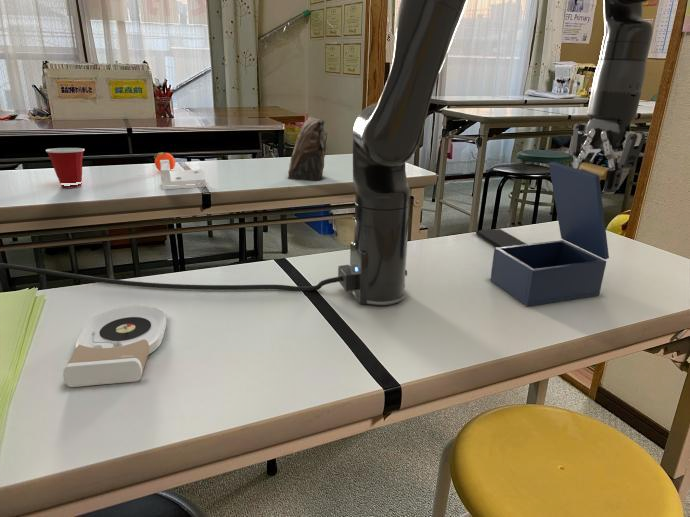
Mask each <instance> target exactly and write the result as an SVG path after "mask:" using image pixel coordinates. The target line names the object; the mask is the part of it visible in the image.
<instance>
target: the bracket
mask: <svg viewBox="0 0 690 517" xmlns="http://www.w3.org/2000/svg"><path fill="white" fill-rule="evenodd" d="M160 164H161V169H160V170H161V171H160V170H159V171H160V176H161V184H162V190H177V189H192V188H206V187H207V185H206V176H205V170H204V169H187V170H171V171H170V166H169V160H160ZM199 183H202V184H199ZM186 184H198V185H186ZM165 185H180V186H165Z"/></svg>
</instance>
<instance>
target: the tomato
mask: <svg viewBox="0 0 690 517" xmlns="http://www.w3.org/2000/svg"><path fill="white" fill-rule="evenodd" d="M153 159H154V165H155V167H156V169H157V170H158V171H160V169H161V164H160V160H169V166H170V171H172V170H171V169H173V170H174V169H175V166H176V160H175V158H174V156H173V155H172V154H170V152H158V153H156V154H154V157H153Z"/></svg>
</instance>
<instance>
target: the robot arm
mask: <svg viewBox="0 0 690 517" xmlns="http://www.w3.org/2000/svg"><path fill="white" fill-rule="evenodd" d="M653 1H654V0H603V23H604V36H603V39H602V45H601V50H600V55H599V60H598V63H597V66H596V69H595V73H594V76H593V80H592V86H591V92H590V97H589V102H588V106H587V112H586V116H588V117H589V120H588V122H586V123H585V122H584V123H575V124H574V125H573V134H572V144H571V151H570V152H571V154H570V155H571V157H572V158H573V157H574V158H576V159H577V162H578V165H577V169H579V168H580V165H581V164H582V163H584V162H587V163H591V164H593V161H594V159H595V157H596V156H597V154H598V153H600V152H604V157H605V158H606V159H607V164H608V168H609V169H610V170H608V171H607V176H606V180H604V185H603V192H605V193H615V192H616V191H617V190H618V189H619V187H620V183H621V179H622V175H623V172H624V171H625V170H633V169H635V168H636V165H637V162H638V159H639V158H640V157H639V156H640V154H641V151H642V148H643V146H644V142H645V141H646V134H645V133H644V132H643V133H642V132H641V133H640V132H634V131H632V127H631V123H632V121H633V120H634V119H636V117H637V112H638V109H639V104H640V99H641V96H642V91H643V88H644V83H645V79H646V72H647V63H648V58H649V55H650V54H649V53H650V49H651V45H652V40H653V35H654V26H653V24H652V23H651V22H650V21H648V20H645V19H644V18H643V4H644V3H646V2H647V3H648V2H653ZM467 3H468V0H400V3H399V8H398V12H397V16H396V17H397V18H396V24H395V31H394V48H393V55H392V56H393V57H392V64H391V67H390V71H389V74H388V77H387V80H386V82H385V85H384V88H383V91H382V93H381V95H380V97H379V100H378V102H376V103H372V104H370V105H368V106H366V107H365V108H364V109H363V110H361V111H360V113H359V114H358V115H357V117H356V119H355V121H354V125H353V130H352V131H353V132H352V183H353V187H354V238H353V240H354V241H351V242H350V244H349V245H350V247H349V250H350V252H349V264H343V265H338V266H337V268H338V269H337V275H338V276H334V277H330V278H326V279H322V280H321V281H319V282H318V283H317V284H315V285H310V286H297V285H287V284H187V283H185V284H184V283H183V284H182V283H162V282H147V281H146V282H145V281H136V280H135V281H133V280H124V279H115V278H106V277H99V276H91V275H84V274H78V273H77V274H76V273H70V272H65V271H64V272H63V271H57V270H50V269H44V268H37V267H33V266H32V267H30V266H25V265H18V264H11V263H3V262H0V268H2V269H9V270H15V271H16V270H17V271H23V272H29V273H34V274H35V273H36V274H41V275H48V276H55V277H60V278H66V279H73V280H80V281H87V282H94V283H101V284H111V285H119V286H129V287H140V288H152V289H167V290H170V289H171V290H193V291H194V290H195V291H252V290H253V291H256V290H257V291H258V290H280V291H293V292H315V291H319V290H320V289H321V288H322V287H324V286H326V285H329V284H333V283H339V284H340V286H341V287H342V288H343V289H344V291H345V292H350V293H351V294H352V295H353V297H354V299H355V300H356V301H357V302H358V304H360V305H371V306H390V305H394V304H397V303H400V302H402V301H403V300H404V298H405V296H406V295H405V294H406V293H405V292H406V291H405V288H406V284H405V283H406V277H407V276H408V270H407V255H408V253H407V252H408V237H409V236H408V235H409V222H410V220H409V219H410V205H411V188H410V185H409V181H408V178H407V172H406V163H407V162H408V161H410V159H411V158H412V157H413V156H414V155H415V153H416V151H417V150H418V147H419V145H420V142H421V139H422V135H423V133H424V132H423V131H424V128H425V124H426V121H427V115H428V112H429V108H430V104H431V101H432V97H433V93H434V90H435V87H436V83H437V81H438V78H439V75H440V73H441V70H442V68H443V65H444V63H445V60H446V59H447V55H448V52H449V50H450V47H451V45H452V42H453V39H454V36H455V33H456V31H457V28H458V26H459V25H460V21H461V19H462V17H463V14H464V11H465V8H466V5H467ZM579 147H580V148H579Z"/></svg>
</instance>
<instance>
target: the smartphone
mask: <svg viewBox="0 0 690 517" xmlns="http://www.w3.org/2000/svg"><path fill="white" fill-rule="evenodd" d="M475 234H476V235H477V236H479V237H480V238H482V239H484V240H485V241H487V242H488V243H489V244H491V245H493V246H495V248H497V247H506V246H515V245H524V244H527V243H526V242H524V241H522V240H520V239H519V238H517V237H515V236H513V235H511V234H510V233H508V232H506V231H504V230H503V229H501V228H493V229H480V230H476V231H475Z"/></svg>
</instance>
